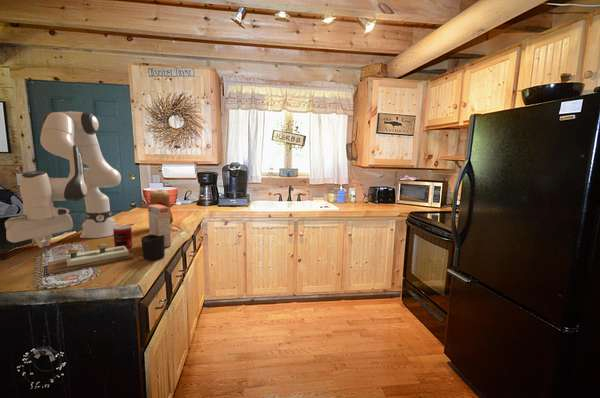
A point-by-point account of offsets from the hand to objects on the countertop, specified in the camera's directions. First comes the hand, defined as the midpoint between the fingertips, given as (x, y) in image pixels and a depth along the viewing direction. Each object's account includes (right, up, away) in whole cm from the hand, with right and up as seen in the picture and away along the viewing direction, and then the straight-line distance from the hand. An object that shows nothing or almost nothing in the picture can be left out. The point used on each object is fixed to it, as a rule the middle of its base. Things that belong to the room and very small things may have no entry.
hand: (44, 246), depth 111 cm
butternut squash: (+13, 0, +68) cm, 69 cm away
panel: (+14, -7, +11) cm, 19 cm away
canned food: (+14, -6, +29) cm, 32 cm away
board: (+12, -9, +10) cm, 18 cm away
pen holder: (+36, -8, +16) cm, 40 cm away
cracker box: (+29, -5, +35) cm, 46 cm away
